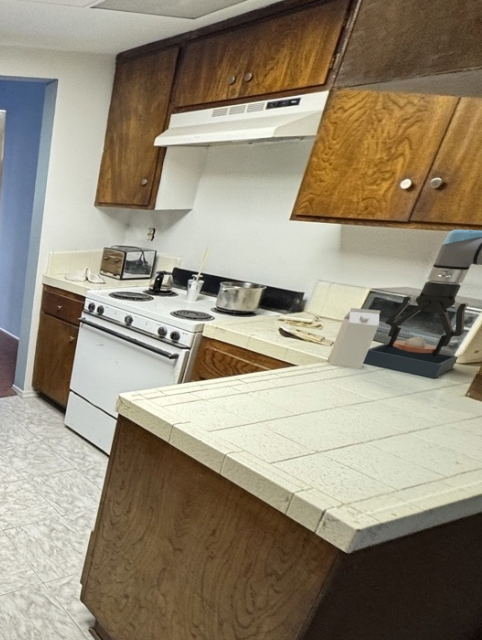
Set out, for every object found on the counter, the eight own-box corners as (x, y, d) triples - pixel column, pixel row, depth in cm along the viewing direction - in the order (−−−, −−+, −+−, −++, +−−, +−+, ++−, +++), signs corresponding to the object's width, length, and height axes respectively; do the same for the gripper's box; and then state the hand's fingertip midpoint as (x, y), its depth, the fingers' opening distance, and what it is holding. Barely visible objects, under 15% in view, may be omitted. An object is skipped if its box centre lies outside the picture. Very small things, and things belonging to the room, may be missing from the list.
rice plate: (438, 353, 152) (445, 339, 150) (428, 358, 147) (435, 343, 145) (396, 345, 160) (402, 332, 158) (385, 349, 155) (392, 335, 153)
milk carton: (327, 360, 161) (348, 306, 154) (354, 364, 158) (377, 308, 151) (331, 366, 156) (354, 309, 148) (360, 370, 152) (384, 312, 145)
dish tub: (450, 371, 153) (458, 356, 151) (433, 380, 144) (441, 364, 142) (379, 356, 167) (385, 343, 165) (360, 364, 158) (366, 349, 156)
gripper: (390, 277, 152) (363, 343, 161) (496, 289, 134) (458, 362, 143) (398, 276, 156) (371, 340, 164) (502, 287, 138) (465, 358, 146)
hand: (412, 350), depth 153 cm, fingers closed on rice plate, 10 cm apart
